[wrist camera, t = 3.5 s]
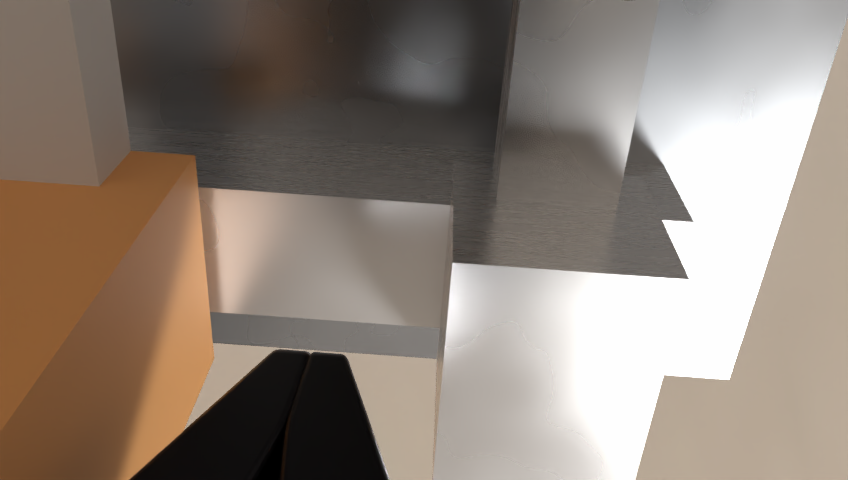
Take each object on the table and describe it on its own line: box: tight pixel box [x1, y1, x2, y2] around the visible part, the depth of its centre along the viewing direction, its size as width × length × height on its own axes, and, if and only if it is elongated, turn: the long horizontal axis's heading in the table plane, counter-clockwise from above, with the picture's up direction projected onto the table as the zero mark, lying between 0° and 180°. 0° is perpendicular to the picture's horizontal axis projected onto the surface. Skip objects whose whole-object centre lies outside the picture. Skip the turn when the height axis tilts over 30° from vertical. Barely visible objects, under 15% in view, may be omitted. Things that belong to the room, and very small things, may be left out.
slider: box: [0, 0, 214, 480], centre depth 8 cm, size 7×3×7 cm, turn 177°
